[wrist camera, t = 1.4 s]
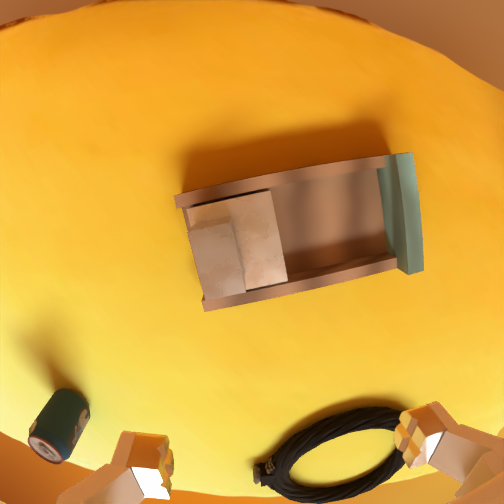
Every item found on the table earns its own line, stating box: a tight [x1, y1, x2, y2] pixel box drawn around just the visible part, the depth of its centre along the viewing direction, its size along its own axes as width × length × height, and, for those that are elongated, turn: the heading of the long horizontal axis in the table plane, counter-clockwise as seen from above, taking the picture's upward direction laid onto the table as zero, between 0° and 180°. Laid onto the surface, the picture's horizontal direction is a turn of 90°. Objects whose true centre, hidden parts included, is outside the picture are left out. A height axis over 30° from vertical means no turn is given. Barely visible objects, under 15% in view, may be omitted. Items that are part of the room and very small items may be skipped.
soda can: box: [28, 389, 90, 464], centre depth 33 cm, size 7×7×12 cm
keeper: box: [186, 189, 288, 300], centre depth 28 cm, size 8×9×7 cm
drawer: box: [174, 153, 424, 312], centre depth 30 cm, size 24×12×6 cm, turn 102°
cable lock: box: [253, 407, 406, 504], centre depth 42 cm, size 28×4×30 cm
